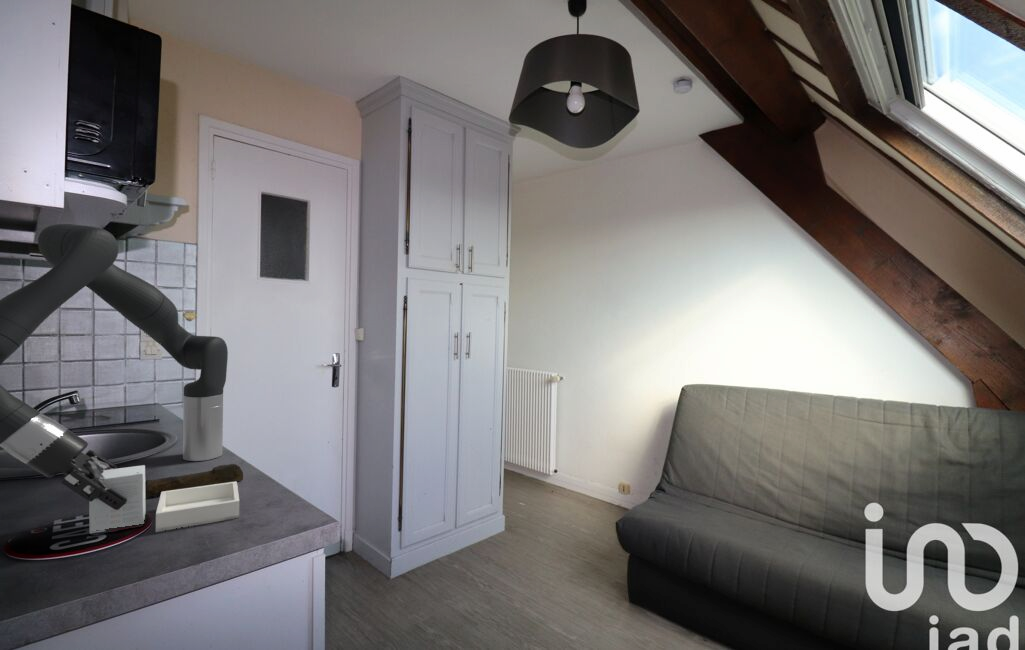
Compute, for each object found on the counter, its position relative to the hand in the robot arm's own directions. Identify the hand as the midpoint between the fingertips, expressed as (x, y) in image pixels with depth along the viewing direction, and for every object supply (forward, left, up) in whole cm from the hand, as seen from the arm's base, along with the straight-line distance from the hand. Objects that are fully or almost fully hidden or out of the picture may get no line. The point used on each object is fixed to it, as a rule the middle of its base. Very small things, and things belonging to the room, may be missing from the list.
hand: (126, 497), depth 93 cm
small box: (0, -1, -6) cm, 6 cm away
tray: (0, +12, -5) cm, 13 cm away
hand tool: (-16, +11, -6) cm, 20 cm away
